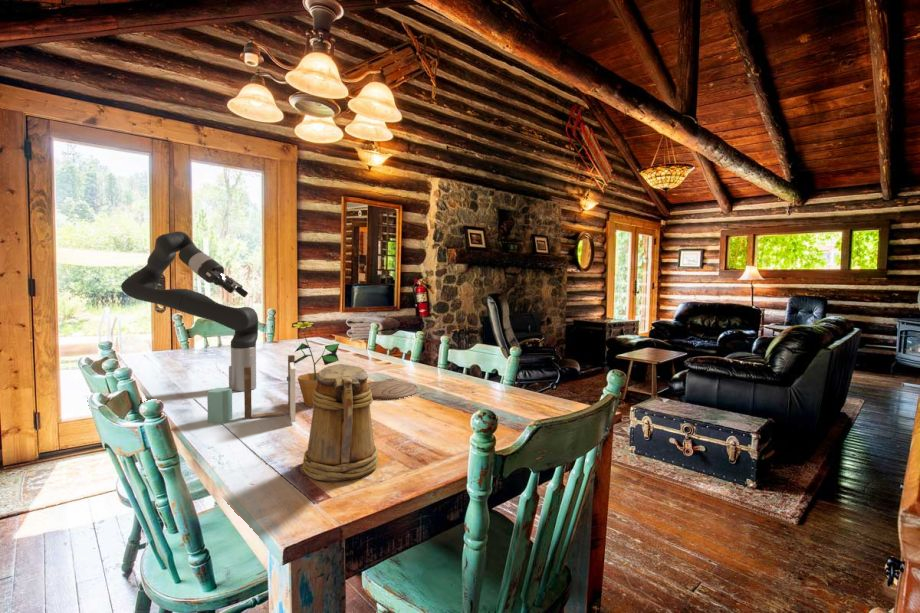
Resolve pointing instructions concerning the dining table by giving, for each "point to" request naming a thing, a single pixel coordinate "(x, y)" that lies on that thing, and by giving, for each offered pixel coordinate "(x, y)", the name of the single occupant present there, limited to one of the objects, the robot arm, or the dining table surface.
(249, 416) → the door frame
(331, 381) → the tankard
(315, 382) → the potted plant
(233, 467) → the dining table surface
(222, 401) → the teal block
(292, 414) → the cream door
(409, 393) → the trivet
